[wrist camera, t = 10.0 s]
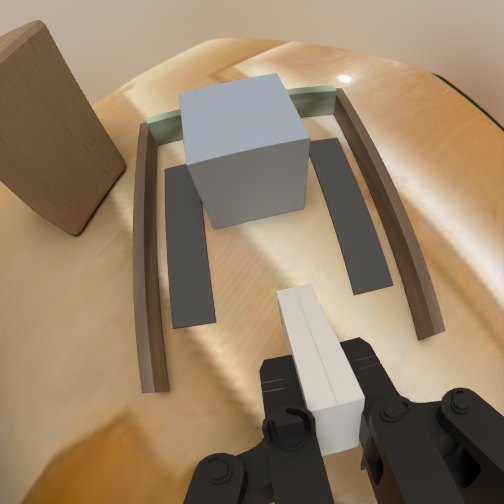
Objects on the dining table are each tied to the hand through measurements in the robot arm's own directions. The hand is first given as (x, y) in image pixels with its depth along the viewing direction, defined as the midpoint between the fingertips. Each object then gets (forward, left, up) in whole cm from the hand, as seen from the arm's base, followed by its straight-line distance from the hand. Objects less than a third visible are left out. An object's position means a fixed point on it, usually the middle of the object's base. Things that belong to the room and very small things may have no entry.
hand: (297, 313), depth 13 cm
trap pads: (0, +10, -10) cm, 14 cm away
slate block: (-1, +15, -10) cm, 18 cm away
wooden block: (-20, +19, -10) cm, 29 cm away
